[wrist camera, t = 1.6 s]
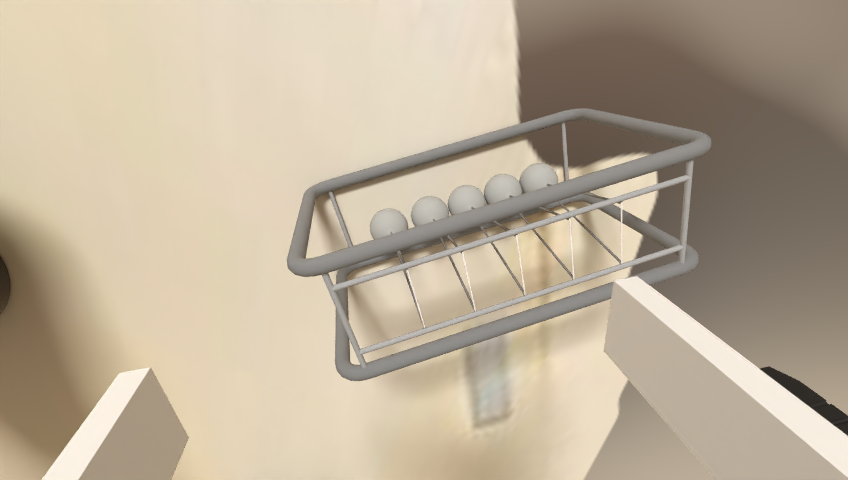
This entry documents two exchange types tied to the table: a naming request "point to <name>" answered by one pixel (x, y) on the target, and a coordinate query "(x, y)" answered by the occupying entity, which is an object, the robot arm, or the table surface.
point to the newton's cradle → (476, 216)
